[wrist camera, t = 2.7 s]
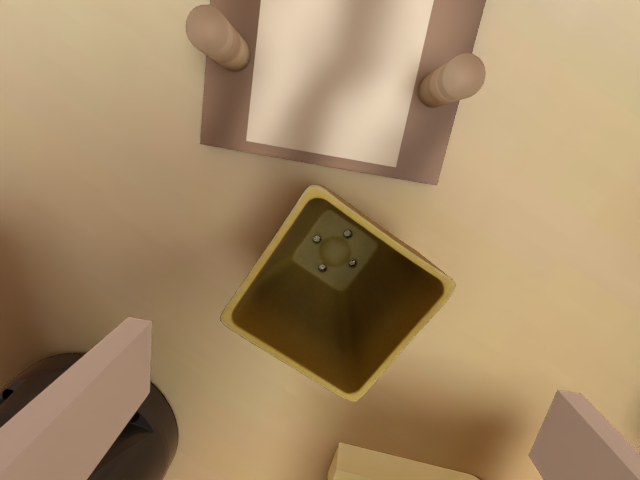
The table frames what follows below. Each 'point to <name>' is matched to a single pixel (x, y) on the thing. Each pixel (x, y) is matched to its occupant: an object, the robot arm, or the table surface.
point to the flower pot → (336, 295)
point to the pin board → (338, 80)
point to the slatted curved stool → (385, 467)
